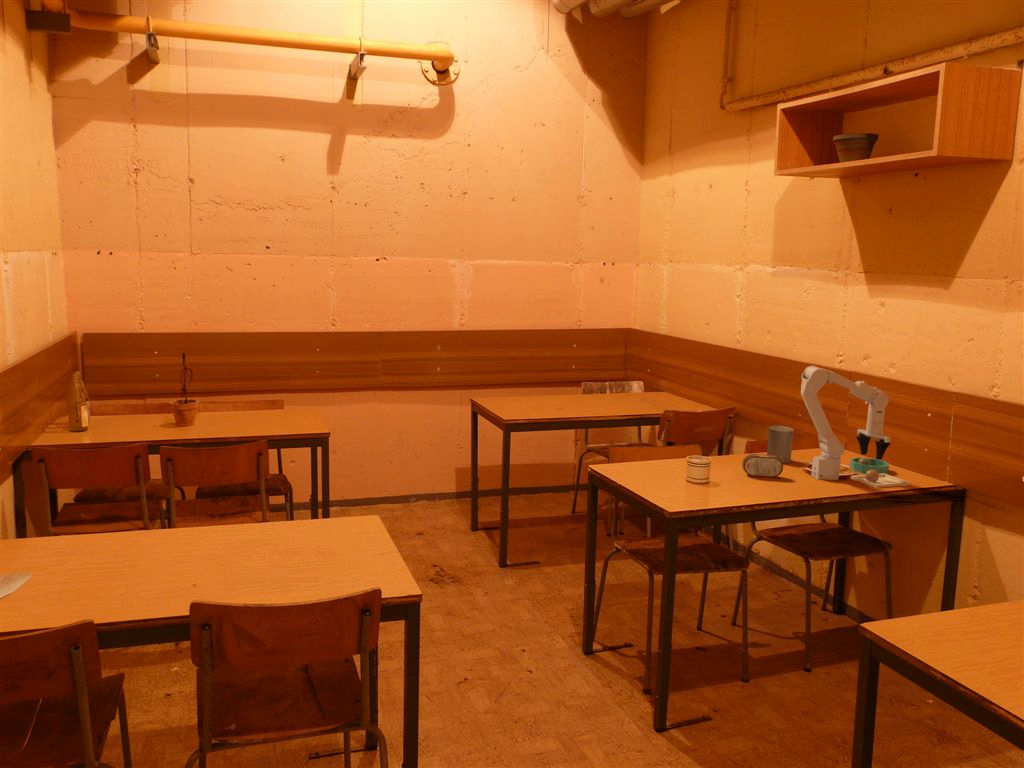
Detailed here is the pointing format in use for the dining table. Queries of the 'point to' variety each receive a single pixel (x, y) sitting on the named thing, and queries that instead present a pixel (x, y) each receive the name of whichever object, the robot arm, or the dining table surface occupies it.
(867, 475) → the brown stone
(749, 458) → the tin
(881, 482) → the tray
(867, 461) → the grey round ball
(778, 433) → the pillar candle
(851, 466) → the teal bowl
